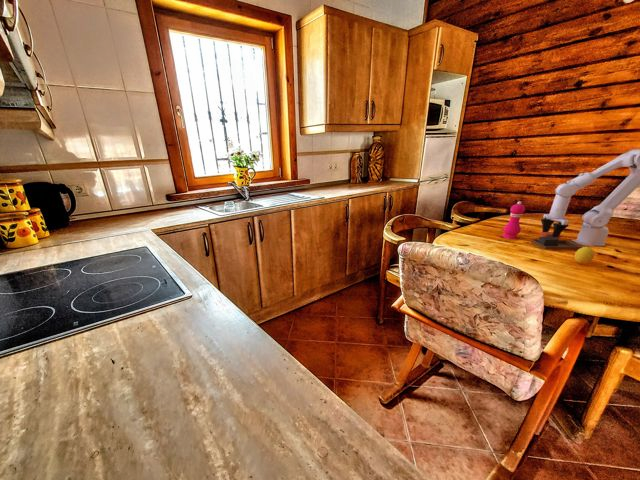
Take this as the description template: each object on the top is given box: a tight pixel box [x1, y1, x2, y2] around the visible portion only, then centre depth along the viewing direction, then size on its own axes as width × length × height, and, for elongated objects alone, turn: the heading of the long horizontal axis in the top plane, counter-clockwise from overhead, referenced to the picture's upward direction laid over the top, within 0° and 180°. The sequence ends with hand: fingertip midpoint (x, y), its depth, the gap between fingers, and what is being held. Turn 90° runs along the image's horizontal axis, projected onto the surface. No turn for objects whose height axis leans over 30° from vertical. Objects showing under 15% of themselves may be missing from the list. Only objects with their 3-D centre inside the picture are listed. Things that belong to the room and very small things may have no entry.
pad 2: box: [537, 236, 560, 246], centre depth 136 cm, size 6×4×4 cm
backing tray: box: [530, 239, 583, 251], centre depth 136 cm, size 15×10×2 cm
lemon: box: [573, 246, 595, 266], centre depth 115 cm, size 6×6×8 cm
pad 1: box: [539, 231, 561, 240], centre depth 144 cm, size 6×4×4 cm
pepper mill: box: [502, 200, 526, 240], centre depth 147 cm, size 7×7×20 cm
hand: (549, 234), depth 143 cm, fingers open, 7 cm apart
